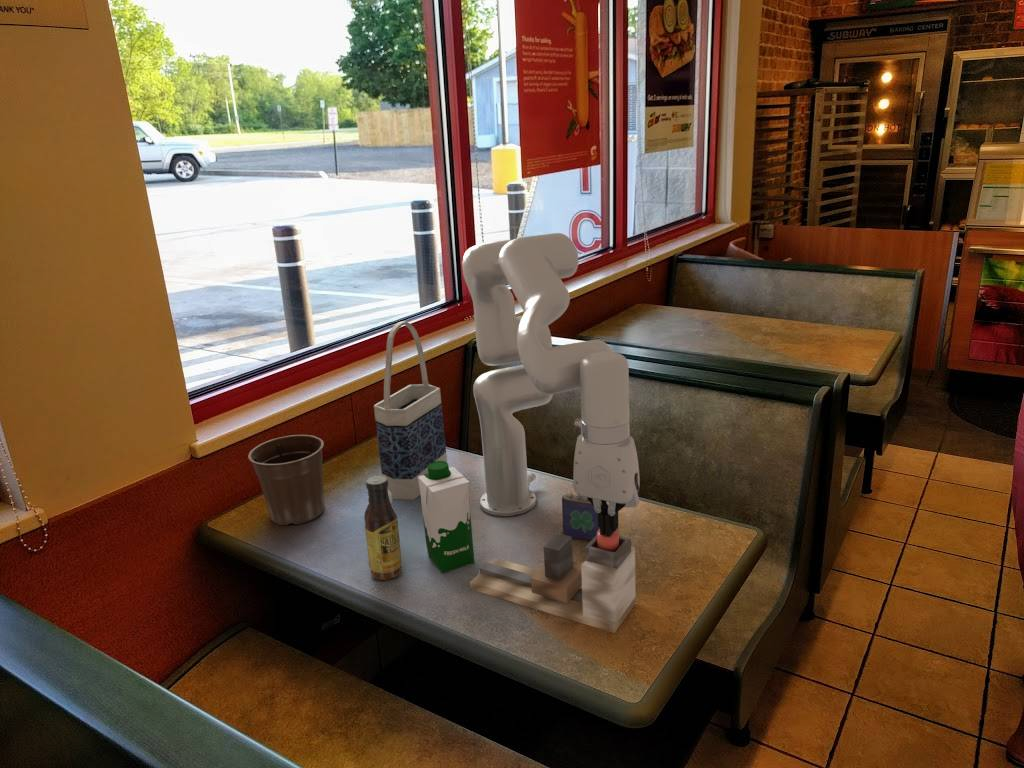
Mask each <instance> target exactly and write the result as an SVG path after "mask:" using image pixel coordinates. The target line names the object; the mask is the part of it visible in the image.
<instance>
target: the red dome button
mask: <svg viewBox="0 0 1024 768" xmlns="http://www.w3.org/2000/svg"><path fill="white" fill-rule="evenodd" d="M619 536H620V532H619V530H618V529H617V530H616V531H614V533H613V534H612V535H611V536H610V537H607V536H606V535H604V536H603V535H600V529H599V530H598V531H597V547H598V548H599V549H603V550H607V551H611V552H616V551H617V550H618V548H619Z"/></svg>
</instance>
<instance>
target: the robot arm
mask: <svg viewBox="0 0 1024 768" xmlns="http://www.w3.org/2000/svg"><path fill="white" fill-rule="evenodd" d="M461 265H462V274H463V279H464V282H465V284H466V287H467V288H468V289H467V290H468V291H469V294H470V297H471V300H472V304H473V314H474V315H473V317H474V325H475V326H474V329H475V340H476V349H477V354H478V357H479V359H480V361H481V362H482V363H483V364H484V365H486V366H493V367H494V366H502V365H507V364H513V363H514V364H515V363H519V362H521V364H520V365H515V366H509V367H503V368H499V369H498V368H497V369H494V370H493V369H492V370H489V371H487V372H486V371H485V372H484V373H482V374H479V376H478V377H477V378H476V379H475V381H474V382H473V383H474V384H473V386H472V387H473V389H472V391H473V392H472V393H473V397H474V400H475V405H476V408H477V413H478V418H479V424H480V432H481V433H480V434H481V444H482V445H481V446H482V447H481V448H482V456H483V468H484V471H483V472H484V482H485V493H483V494H482V496H481V497H480V500H479V506H480V508H481V509H482V510H483V512H485V513H487V514H488V515H492V516H498V517H512V516H518V515H522V514H525V513H526V512H527V513H528V512H529V511H530V510H531V509H533V508H534V507H535V506H536V501H537V498H536V495H535V493H534V492H533V491H532V490H531V489H530V485H531V484H532V482H533V481H535V480H536V478H537V476H536V474H535V473H534V472H529V473H528V465H527V461H528V460H527V447H526V432H525V428H524V426H523V424H522V423H521V422H520V421H519V420H518V419H517V418H516V417H515V416H514V415H513V414H514V413H515V412H519V411H522V410H527V409H531V408H535V407H536V408H537V407H540V406H544V405H546V404H548V403H550V401H552V399H553V396H554V395H555V394H556V395H557V394H561V393H565V392H566V393H567V392H570V391H573V390H574V391H575V390H580V410H581V411H580V413H581V414H580V415H581V418H576V419H574V427H576V428H579V429H580V434H579V435H578V436H577V438H576V444H575V450H574V456H573V471H572V472H573V474H572V475H573V476H572V477H573V478H572V479H573V481H572V482H573V486H572V487H573V491H574V492H575V493H576V496H578V495H579V496H581V497H583V498H585V499H588V500H589V501H590V503H591V504H592V505H593V506H594V510H595V512H597V513H598V527H600V535H603V536H604V535H606V536H607V537H610V536H611V535H612V534H613V533H614V531H616V530H618V529H619V512H620V511H621V510H622V509H624V508H636V507H637V506H638V505H639V504H640V501H641V500H640V497H639V495H638V494H639V492H640V485H641V484H640V481H641V480H640V479H641V478H640V468H639V467H640V466H639V459H638V453H637V448H636V443H635V440H634V438H633V437H632V436H631V434H630V433H631V430H630V380H629V379H630V375H629V372H630V369H629V362H628V359H627V358H626V357H625V356H624V355H623V354H621V353H620V352H619V353H618V352H615V351H614V350H613V349H612V348H611V346H610V345H608V343H606V342H605V341H604V340H600V339H591V340H585V341H579V342H573V343H568V344H567V343H566V344H562V345H561V344H560V345H556V346H553V341H552V340H553V339H552V334H551V330H550V328H549V325H551V324H552V323H554V322H555V321H556V320H558V319H559V318H561V316H563V314H564V313H565V312H566V311H567V309H568V307H569V305H570V301H571V300H570V298H571V295H570V293H569V291H568V288H567V287H566V285H565V284H564V282H563V281H562V279H566V278H570V277H572V276H574V274H576V272H577V270H578V267H579V253H578V249H577V246H576V244H575V243H574V242H573V240H572V239H571V238H570V237H569V236H568V235H566V234H564V233H560V232H555V233H554V232H553V233H547V234H537V235H530V236H529V235H528V236H522V237H517V238H515V239H508V240H507V239H506V240H505V239H504V240H499V241H491V242H484V243H481V244H476V245H473V246H471V247H469V248H467V250H466V251H465V252H464V255H463V258H462V264H461ZM507 285H509V287H510V288H511V290H512V291H511V290H510V289H509V287H508V286H507ZM512 292H513V293H512ZM513 294H514V295H513ZM514 296H515V297H514ZM515 298H516V300H517V302H518V303H519V306H520V308H521V309H522V310H523V311H522V312H523V314H522V315H519V316H516V309H515V307H516V306H515V305H516V304H515Z"/></svg>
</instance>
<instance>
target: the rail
mask: <svg viewBox="0 0 1024 768" xmlns="http://www.w3.org/2000/svg"><path fill="white" fill-rule="evenodd" d="M584 555H585V556H584V558H585V561H583V562H582V565H581V574H582V586H581V588H580V589H579V590H578V591H577V592H576V593H575V595H574V596H573V597H572V598H571V599H570V601H569V602H568V603H565V602H562V601H558V600H555V599H551V598H548V597H545V596H541V595H538V594H535V593H532V585H531V578H532V577H533V576H534V575H535V574H536V572H537V571H538V570H539V569H536V568H532V567H529V566H526V565H522V564H519V563H515V562H511V561H507V560H504V559H501V558H500V559H499V558H497V557H495V559H493V560H492V561H491V562H487V561H486V562H485V563H483V565H482V566H480V567H479V573H478V574H477V575H476V576H475V577H474V578H473V579H472V580H471V581H470V582H469V584H470V590H472V591H477V592H479V593H483V594H486V595H489V596H493V597H495V598H497V599H498V598H499V599H502V600H505V601H509V602H511V603H515V604H519V605H522V606H525V607H528V608H531V609H534V610H537V611H541V612H545V613H546V614H547V613H548V614H550V615H554V616H557V617H560V618H564V619H567V620H571V621H574V622H576V623H579V624H583V625H587V626H590V627H593V628H597V629H600V630H603V631H605V632H610V633H613V634H616V633H617V631H618V629H620V627H621V625H622V624H623V623H624V621H625V619H626V618H627V617H628V615H629V614H630V613H631V611H632V610H633V608H634V607H635V606H636V547H635V546H632V538H630V537H624V536H621V535H619V548H618V550H617V551H616V552H611V551H607V550H603V549H599V548H598V547H597V535H596V536H595V537H594V538H593V539H592V540H591V541H590V542H588V544H587V545H586V546H585V547H584Z"/></svg>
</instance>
